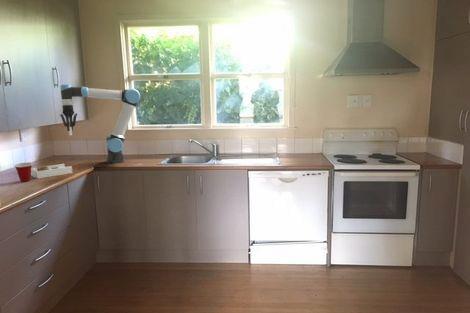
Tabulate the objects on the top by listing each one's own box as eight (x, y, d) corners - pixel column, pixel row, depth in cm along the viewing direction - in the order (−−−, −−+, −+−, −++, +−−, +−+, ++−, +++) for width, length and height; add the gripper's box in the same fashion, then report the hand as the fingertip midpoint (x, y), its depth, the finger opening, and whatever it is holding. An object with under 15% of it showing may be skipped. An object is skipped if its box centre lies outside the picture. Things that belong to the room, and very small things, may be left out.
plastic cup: (14, 183, 239) (11, 166, 237) (18, 180, 249) (16, 163, 247) (32, 182, 242) (30, 164, 240) (36, 178, 252) (34, 161, 250)
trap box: (64, 170, 280) (63, 163, 279) (72, 172, 269) (71, 166, 268) (30, 175, 264) (29, 168, 263) (37, 178, 252) (36, 171, 251)
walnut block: (45, 171, 263) (44, 165, 262) (48, 172, 259) (47, 166, 258) (37, 172, 259) (36, 166, 259) (39, 173, 255) (39, 167, 255)
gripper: (74, 104, 286) (77, 134, 290) (57, 105, 277) (60, 135, 281) (78, 104, 280) (81, 134, 284) (60, 105, 271) (63, 136, 275)
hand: (70, 135), depth 282 cm, fingers closed
